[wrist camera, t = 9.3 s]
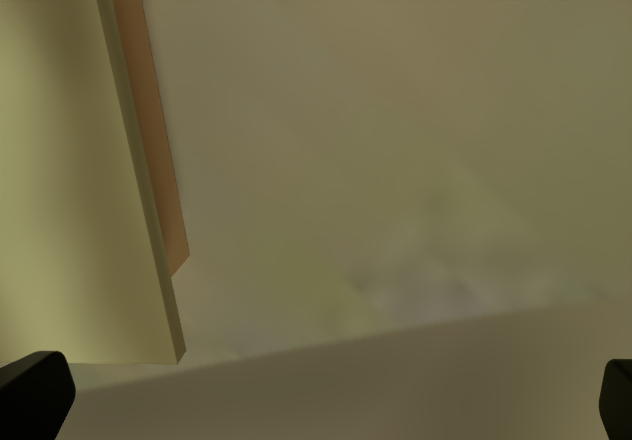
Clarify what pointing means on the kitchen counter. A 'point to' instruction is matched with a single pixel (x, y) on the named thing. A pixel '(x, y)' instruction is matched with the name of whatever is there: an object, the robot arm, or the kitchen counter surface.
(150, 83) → the open wooden box
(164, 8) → the kitchen counter surface
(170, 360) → the lid
